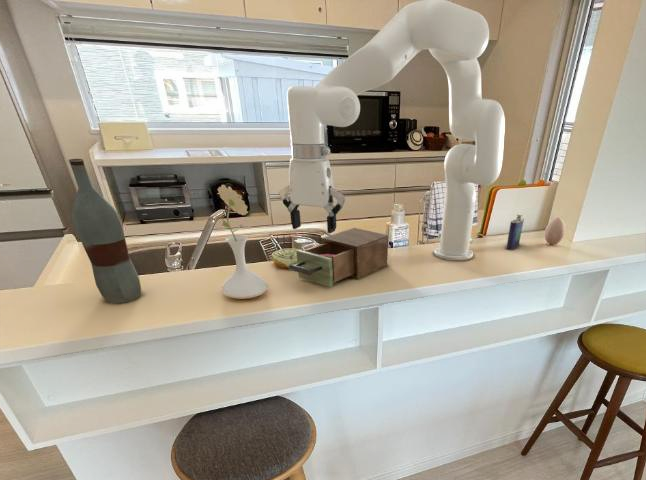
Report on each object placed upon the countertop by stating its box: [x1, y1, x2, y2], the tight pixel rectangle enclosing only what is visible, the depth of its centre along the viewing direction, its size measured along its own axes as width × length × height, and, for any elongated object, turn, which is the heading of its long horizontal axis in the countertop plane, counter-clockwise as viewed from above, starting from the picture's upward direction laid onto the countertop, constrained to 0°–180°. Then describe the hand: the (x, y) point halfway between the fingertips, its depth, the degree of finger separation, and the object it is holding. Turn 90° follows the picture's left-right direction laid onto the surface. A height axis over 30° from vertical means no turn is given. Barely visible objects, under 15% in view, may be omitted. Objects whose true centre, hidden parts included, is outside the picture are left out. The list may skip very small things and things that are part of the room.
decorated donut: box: [271, 247, 301, 269], centre depth 124 cm, size 10×11×4 cm
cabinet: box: [321, 227, 389, 280], centre depth 122 cm, size 15×13×9 cm
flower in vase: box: [217, 184, 269, 300], centre depth 99 cm, size 13×11×25 cm
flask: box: [505, 214, 525, 251], centre depth 143 cm, size 9×3×11 cm, turn 147°
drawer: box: [287, 242, 355, 288], centre depth 112 cm, size 19×11×7 cm, turn 145°
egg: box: [544, 217, 566, 246], centre depth 147 cm, size 7×7×9 cm
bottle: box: [68, 158, 142, 304], centre depth 94 cm, size 9×9×30 cm
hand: (314, 229), depth 105 cm, fingers open, 9 cm apart
